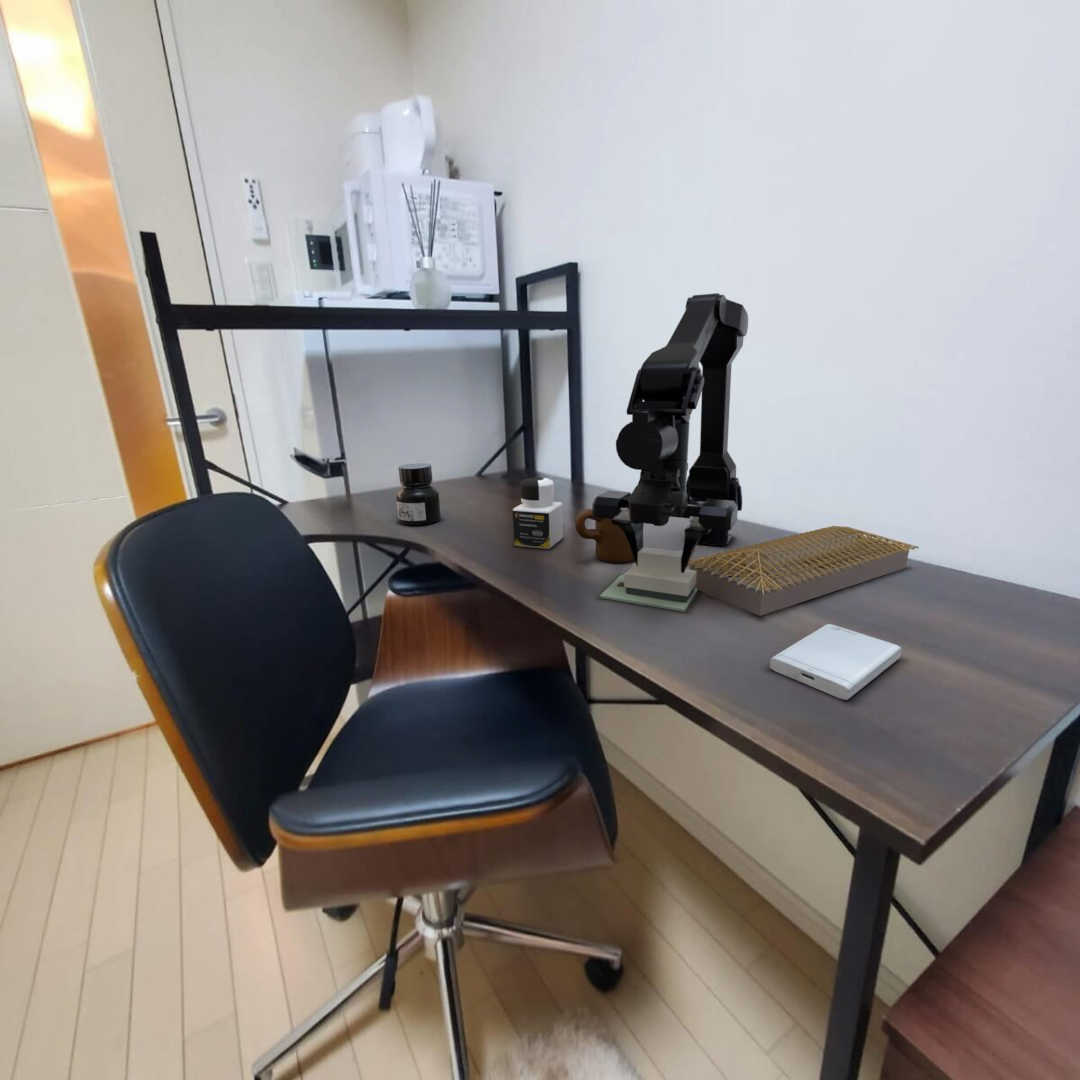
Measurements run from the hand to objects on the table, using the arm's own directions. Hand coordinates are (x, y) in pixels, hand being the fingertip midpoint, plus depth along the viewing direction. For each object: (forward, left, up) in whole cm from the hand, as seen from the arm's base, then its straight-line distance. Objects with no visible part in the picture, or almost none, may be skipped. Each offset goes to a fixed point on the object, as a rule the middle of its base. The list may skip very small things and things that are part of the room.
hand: (660, 568), depth 80 cm
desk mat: (0, -1, -4) cm, 4 cm away
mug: (-12, -12, -4) cm, 18 cm away
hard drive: (+11, +23, -4) cm, 26 cm away
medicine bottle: (-16, -27, -4) cm, 32 cm away
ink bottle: (-20, -58, -4) cm, 62 cm away
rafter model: (-15, +18, -4) cm, 23 cm away
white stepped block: (0, 0, -4) cm, 4 cm away
